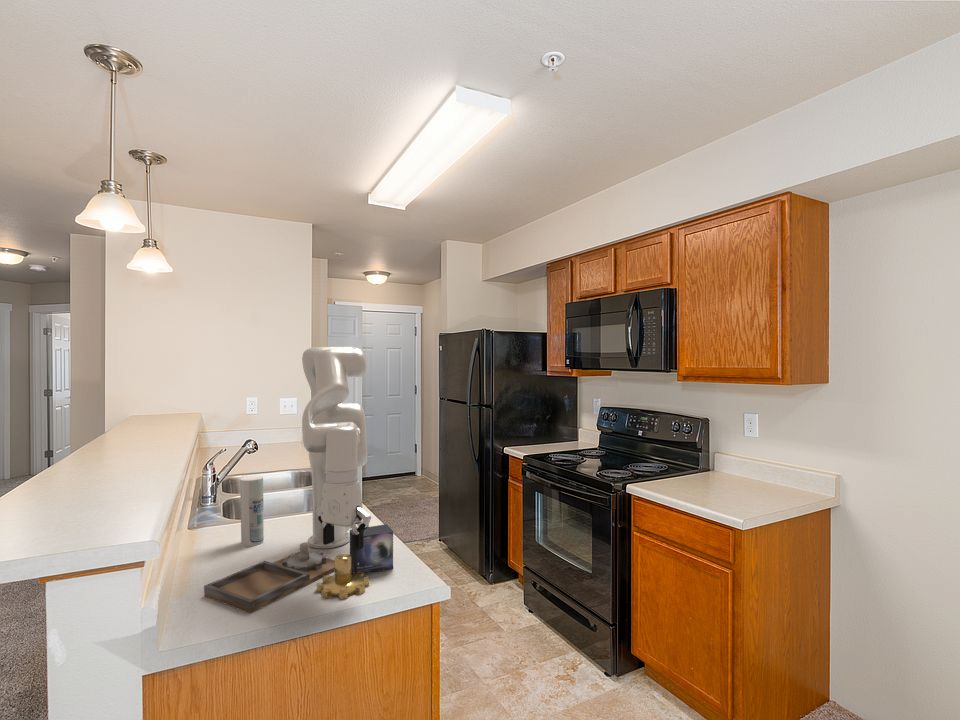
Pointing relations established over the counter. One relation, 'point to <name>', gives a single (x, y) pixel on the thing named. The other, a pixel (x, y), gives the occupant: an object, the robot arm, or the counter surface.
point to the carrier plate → (270, 580)
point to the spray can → (252, 510)
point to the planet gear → (343, 580)
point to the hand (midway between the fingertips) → (343, 546)
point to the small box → (373, 550)
